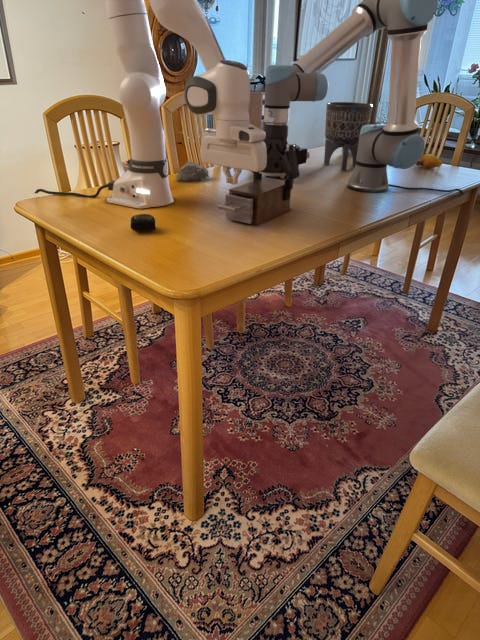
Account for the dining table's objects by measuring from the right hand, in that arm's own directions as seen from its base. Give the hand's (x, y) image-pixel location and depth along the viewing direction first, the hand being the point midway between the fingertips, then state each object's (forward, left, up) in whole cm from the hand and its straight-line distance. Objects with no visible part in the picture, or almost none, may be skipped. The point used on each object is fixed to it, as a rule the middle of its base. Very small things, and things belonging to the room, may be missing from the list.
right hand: (271, 196), depth 148 cm
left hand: (+11, +20, +9) cm, 24 cm away
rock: (+32, -36, -4) cm, 48 cm away
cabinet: (+3, +6, -4) cm, 8 cm away
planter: (-32, -72, -4) cm, 79 cm away
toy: (-72, -78, -4) cm, 107 cm away
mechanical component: (-3, -54, -4) cm, 54 cm away
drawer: (+7, +11, -3) cm, 13 cm away
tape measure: (+36, +27, -4) cm, 45 cm away
